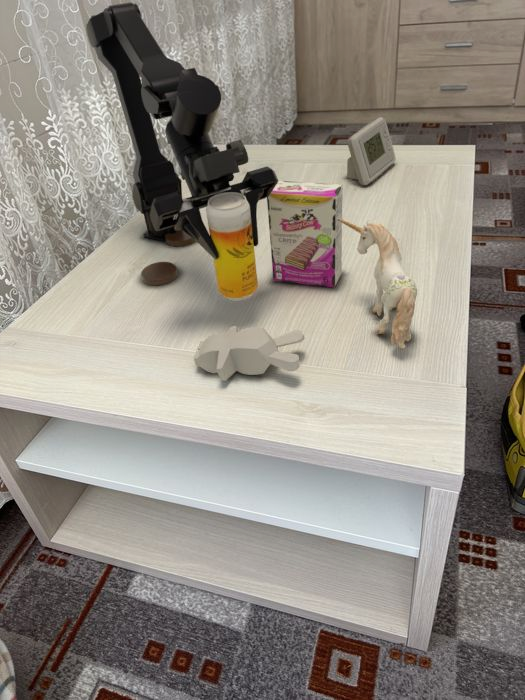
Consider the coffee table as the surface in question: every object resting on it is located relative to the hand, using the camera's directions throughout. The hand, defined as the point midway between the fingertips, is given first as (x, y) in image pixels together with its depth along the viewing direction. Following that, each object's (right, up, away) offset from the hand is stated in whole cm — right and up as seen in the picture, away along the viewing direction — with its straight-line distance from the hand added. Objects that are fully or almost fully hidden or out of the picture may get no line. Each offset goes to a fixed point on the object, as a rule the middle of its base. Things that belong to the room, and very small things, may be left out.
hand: (236, 251), depth 79 cm
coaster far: (-13, +8, +32) cm, 35 cm away
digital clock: (+29, +27, +49) cm, 63 cm away
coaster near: (-15, -1, +21) cm, 26 cm away
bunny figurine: (+2, -16, -1) cm, 17 cm away
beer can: (0, -5, +6) cm, 8 cm away
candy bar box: (+12, -2, +16) cm, 20 cm away
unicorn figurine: (+20, -10, +5) cm, 23 cm away
